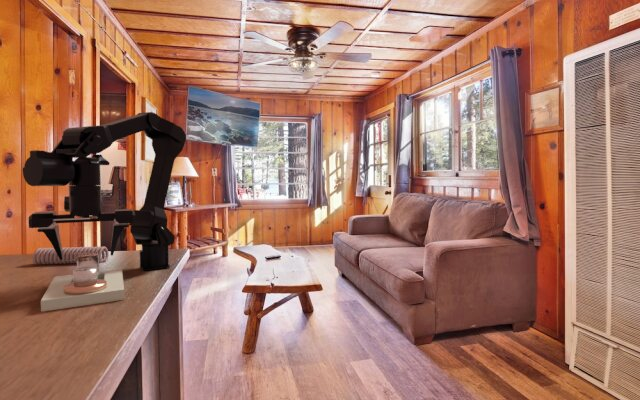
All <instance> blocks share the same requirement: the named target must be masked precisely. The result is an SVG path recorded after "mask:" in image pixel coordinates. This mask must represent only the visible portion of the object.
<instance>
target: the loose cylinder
mask: <svg viewBox="0 0 640 400" xmlns="http://www.w3.org/2000/svg"><path fill="white" fill-rule="evenodd" d="M82 267H97V276H98V279H99V272H100V262H99V254H98V253H97V254H94V253H93V254H84V255H79V256H77V263H76V269H77V268H82Z"/></svg>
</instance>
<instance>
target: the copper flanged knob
mask: <svg viewBox="0 0 640 400" xmlns="http://www.w3.org/2000/svg"><path fill="white" fill-rule="evenodd" d="M72 275H73V283H69V284H67V285H65V286H64V293H65V294H68V295H82V294H89V293H94V292H98V291H101V290H103V289H105V288H106V287H107V283H106V280H102V279H98V276H97V267H82V268H77V267H76V268H74V269H73V270H72Z"/></svg>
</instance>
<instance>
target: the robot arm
mask: <svg viewBox="0 0 640 400" xmlns="http://www.w3.org/2000/svg"><path fill="white" fill-rule="evenodd" d="M141 132H143V133H144V134H145V136H146V137H147V138H149V139H150V140H151V146H152V149H153V152H154V159H153V164H152V168H151V171H150V176H149V180H148V186H147V189H146V194H145V199H144V203H143V205H142V206H141V208H140V209H138V210H137V209H135V210H134V209H132V208H127V209H125V208H124V209H114V212H103V203H102V202H103V201H102V187H101V183H102V182H101V166H109V165H110V162H109V161H108V160H107V159H105V157H103V155H102V154H100V153H103V151H104V150H106V149H108V148H109V147H111V146H112V144H113V143H114V142H116V141H118V140H120V139H123V138H126V137H129V136H132V135H135V134H138V133H141ZM186 141H187V135H186V133H185V131H184V129H183V128H182V127H181V126H179V125H177V124H175V122H173V121H170V120H169V119H168V120H167V119H165V118H163V117H161V116H159V114H157V113H156V112H152V111H147V112H139V113H137V114H135V115H132V116H128V117H125V118H124V117H123V118H121V119H117V120H115V121H110V122H107V123H103V124H101V125H87V126H77V127H68V128H66V129H64V130H63V131H62V136H61V140H60V141H59V142H58V144H57V145H56V146H55V147H54V149H52V151H51V152H49V151H45V150H37V149H36V150H34V149H33V150H29V157H28V158H27V159H26V161H25V162H24V166H23V167H22V175H23V179H24V181H25V182H26V184H27V185H29V186H31V187H63V186H67V185H68V192H69V193H68V196H64V198H63V200H64V201H63V207H64V208H63V209H64V211H65V212H66V213H67V212H69V214H57V211H36V212H32V213H31V214H30V215H28V216H29V217H28V228H29V229H37V233H43V234H44V235H45V237H46V238H47V239H48V241H49V242H50V243H51V245H52V248H54V249H55V251H56V253H57V255H58V257H59V259H60V260H62V259H63V251H62V248H63V247H62V241H61V235H60V225H57V224H67V223H69V224H70V223H71V224H72V223H90V222H91V223H92V222H113V226H112V233H111V243H110V256H113V255H114V252H115V250H116V247H117V244H118V241H119V238H120V236H121V234H122V233H123V230H124V229H125V228H129V227H130V230H129V232H130V234H131V235H132V237H133V239H134V242H135V245H138V246H141V249H140V250H139V251H138V252H139V267H140V268H141V269H142V271H153V270H160V269H161V270H162V269H169V268H171V265H170V263H169V260H170V258H169V256H170V255H169V246H171V245H174V244H175V243H174V242H175V239H176V236H175V235H174V233H172V231H171V230H170V229H169V228H168V217H167V214H166V211H165V205H166V204H165V203H166V200H167V194H168V190H169V186H170V182H171V177H172V172H173V168H174V165H175V160H176V158H177V157H178V156H179V155H180V153H182V151H183V149H184V147H185V144H186ZM90 155H92V156H91V157H90ZM73 158H74V159H75V158H76V159H75V160H73Z"/></svg>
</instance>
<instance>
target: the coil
mask: <svg viewBox="0 0 640 400" xmlns="http://www.w3.org/2000/svg"><path fill="white" fill-rule="evenodd" d="M62 251H63V259H62V260H60V259H59V257H58V255H57V253H56V251H55V249H54V247H39V248H36V249H35V251H34V252H33V255H32V262H33V263H32V264H34V265H35V266H37V265H38V266H39V265H54V264H55V265H61V264H62V263H63V264H67V265H69V263H70V264H72V263H73V264H77V256H79V255H84V254H99V263H100V262H101V263H107V262H108V260H109V256H110V255H109V250H108V248H107V247H106V246H79V247H78V246H74V247H73V246H72V247H70V246H69V247H65V246H64V247H62ZM106 261H107V262H106Z"/></svg>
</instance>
